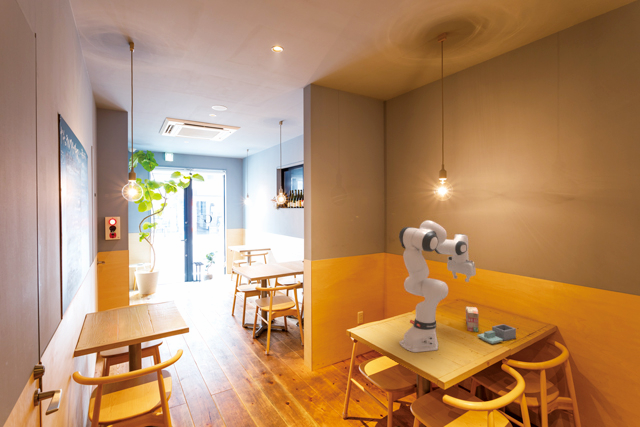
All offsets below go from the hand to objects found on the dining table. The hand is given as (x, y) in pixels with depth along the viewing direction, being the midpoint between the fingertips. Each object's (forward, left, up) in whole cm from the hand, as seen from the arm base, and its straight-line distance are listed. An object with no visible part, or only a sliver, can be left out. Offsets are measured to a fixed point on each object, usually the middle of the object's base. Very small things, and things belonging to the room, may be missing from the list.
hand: (461, 280), depth 201 cm
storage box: (+16, -18, -33) cm, 41 cm away
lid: (+4, -18, -33) cm, 38 cm away
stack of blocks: (+13, +4, -34) cm, 36 cm away
